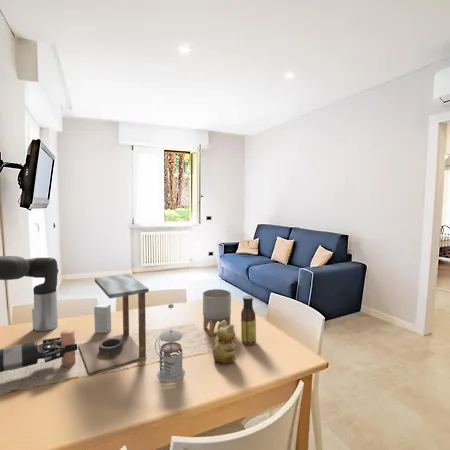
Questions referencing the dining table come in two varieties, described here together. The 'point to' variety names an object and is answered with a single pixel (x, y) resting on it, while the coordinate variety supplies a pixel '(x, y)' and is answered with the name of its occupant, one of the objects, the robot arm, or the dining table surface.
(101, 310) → the skincare box
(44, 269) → the robot arm
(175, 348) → the french press
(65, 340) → the peg
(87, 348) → the slanted top stand
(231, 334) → the decorative figurine
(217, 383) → the dining table surface
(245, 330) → the sauce bottle
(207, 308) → the planter
